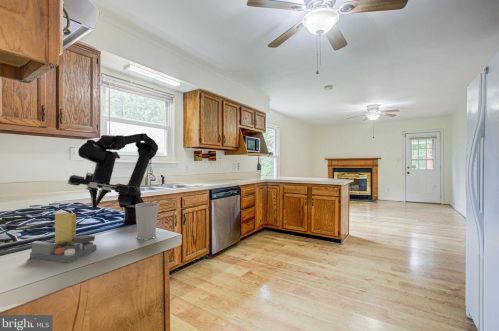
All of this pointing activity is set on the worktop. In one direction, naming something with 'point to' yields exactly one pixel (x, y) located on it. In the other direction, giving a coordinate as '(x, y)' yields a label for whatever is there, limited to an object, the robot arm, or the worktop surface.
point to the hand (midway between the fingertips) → (93, 208)
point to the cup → (146, 220)
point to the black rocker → (83, 239)
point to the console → (60, 251)
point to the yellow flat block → (65, 228)
